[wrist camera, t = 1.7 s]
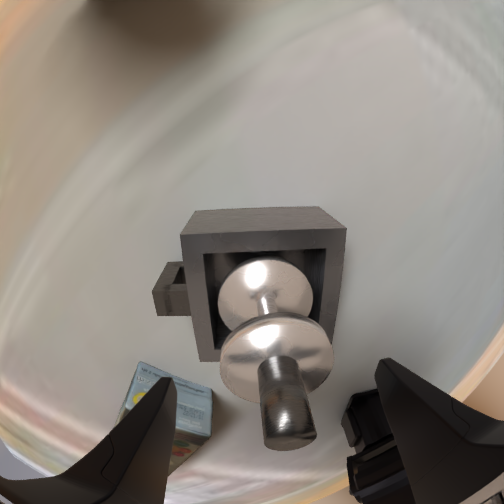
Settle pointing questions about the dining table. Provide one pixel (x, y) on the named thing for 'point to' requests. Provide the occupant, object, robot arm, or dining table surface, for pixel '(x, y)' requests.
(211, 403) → the beverage carton
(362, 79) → the dining table surface
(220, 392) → the dining table surface
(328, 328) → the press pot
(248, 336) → the plunger
